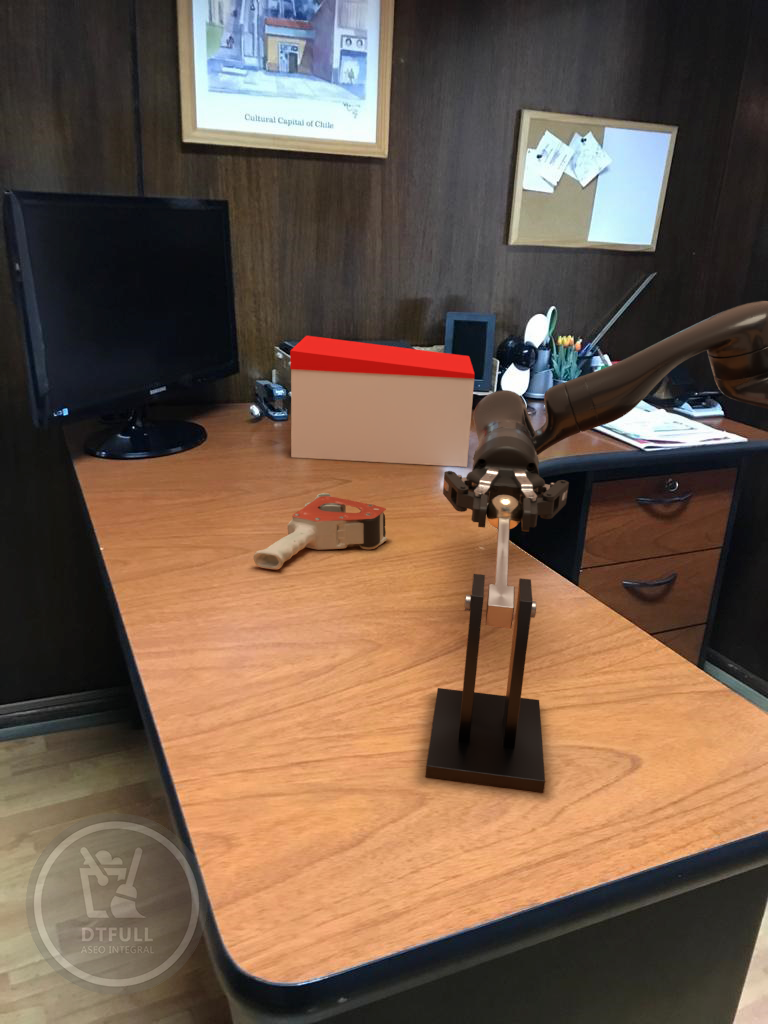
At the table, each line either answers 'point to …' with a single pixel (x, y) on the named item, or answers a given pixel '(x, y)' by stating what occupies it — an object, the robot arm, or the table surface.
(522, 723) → the bracket
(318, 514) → the tape dispenser
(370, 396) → the red-topped tan box
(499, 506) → the lever
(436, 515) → the table surface
